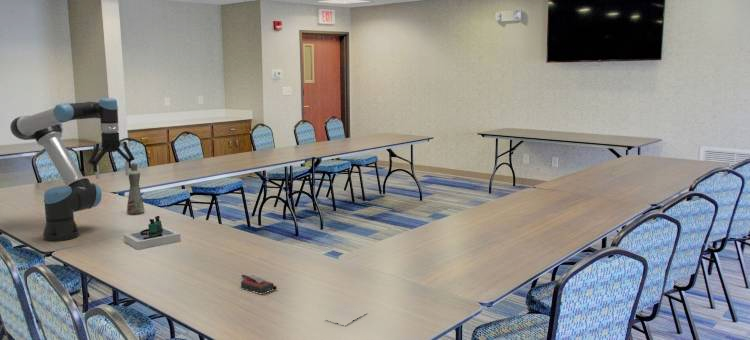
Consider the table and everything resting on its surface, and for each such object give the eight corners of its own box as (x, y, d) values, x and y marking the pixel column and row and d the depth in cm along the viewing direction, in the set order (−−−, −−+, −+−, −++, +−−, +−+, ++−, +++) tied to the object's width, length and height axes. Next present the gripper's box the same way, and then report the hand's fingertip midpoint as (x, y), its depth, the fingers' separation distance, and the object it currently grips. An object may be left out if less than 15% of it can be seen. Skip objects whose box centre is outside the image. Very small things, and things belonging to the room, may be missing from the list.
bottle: (141, 215, 324) (138, 164, 319) (124, 215, 324) (121, 164, 319) (147, 211, 333) (144, 161, 328) (131, 211, 333) (128, 161, 328)
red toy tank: (281, 289, 221) (244, 278, 233) (281, 278, 220) (243, 267, 232) (263, 296, 214) (226, 284, 225) (263, 285, 213) (226, 273, 225)
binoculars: (145, 215, 281) (164, 215, 279) (148, 237, 282) (167, 236, 280) (133, 220, 272) (153, 219, 270) (137, 242, 274) (156, 242, 272)
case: (123, 241, 276) (123, 234, 276) (165, 233, 290) (165, 226, 289) (137, 249, 265) (137, 242, 264) (180, 240, 278) (180, 233, 278)
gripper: (84, 134, 266) (87, 181, 270) (140, 131, 283) (142, 175, 287) (78, 133, 271) (81, 178, 275) (133, 129, 288) (136, 172, 292)
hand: (112, 177), depth 281 cm, fingers open, 13 cm apart
